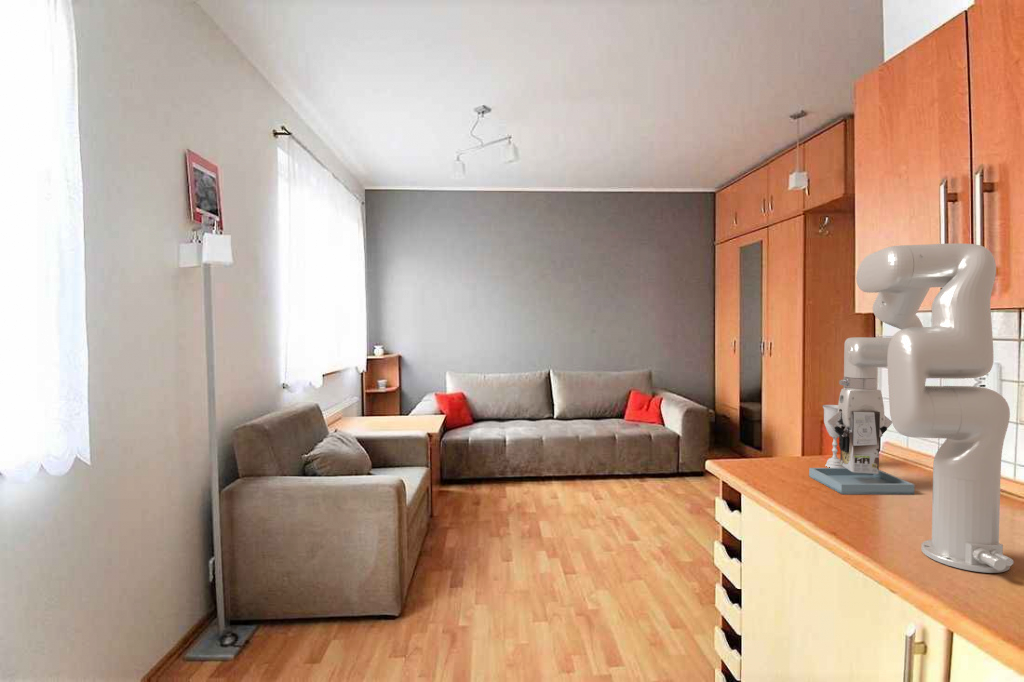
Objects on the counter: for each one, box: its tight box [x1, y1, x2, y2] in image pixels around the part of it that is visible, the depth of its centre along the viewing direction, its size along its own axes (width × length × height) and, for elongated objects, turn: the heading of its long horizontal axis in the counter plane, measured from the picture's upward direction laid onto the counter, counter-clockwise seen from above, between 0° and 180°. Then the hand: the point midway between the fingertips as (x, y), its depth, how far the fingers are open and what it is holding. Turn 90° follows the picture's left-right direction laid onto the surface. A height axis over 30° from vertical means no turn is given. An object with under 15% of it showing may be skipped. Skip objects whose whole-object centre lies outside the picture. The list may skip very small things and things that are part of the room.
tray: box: [808, 467, 916, 495], centre depth 148 cm, size 16×18×2 cm
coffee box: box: [839, 411, 880, 474], centre depth 147 cm, size 9×6×16 cm
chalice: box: [822, 404, 845, 468], centre depth 166 cm, size 7×7×18 cm
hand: (859, 450), depth 147 cm, fingers closed on coffee box, 7 cm apart
